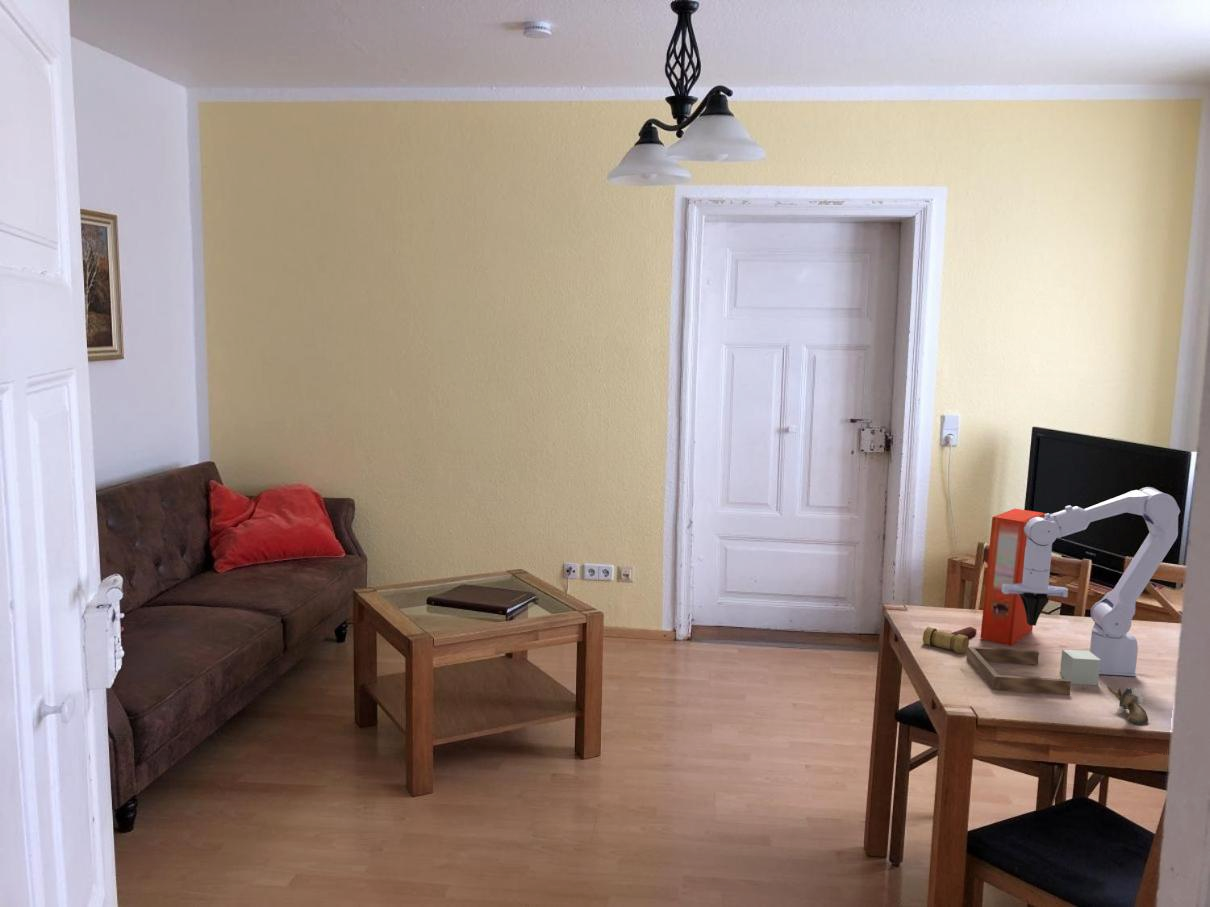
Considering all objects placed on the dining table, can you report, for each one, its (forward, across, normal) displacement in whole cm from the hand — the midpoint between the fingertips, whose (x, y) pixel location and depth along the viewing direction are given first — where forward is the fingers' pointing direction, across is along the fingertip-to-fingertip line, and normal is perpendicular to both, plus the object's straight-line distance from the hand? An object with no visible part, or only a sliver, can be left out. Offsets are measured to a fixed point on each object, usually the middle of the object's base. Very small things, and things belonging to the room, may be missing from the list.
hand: (1031, 624), depth 229 cm
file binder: (+10, -2, -21) cm, 23 cm away
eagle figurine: (+10, -9, +31) cm, 34 cm away
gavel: (+10, +12, -14) cm, 21 cm away
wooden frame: (+9, +6, +10) cm, 15 cm away
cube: (+10, -8, +10) cm, 16 cm away
